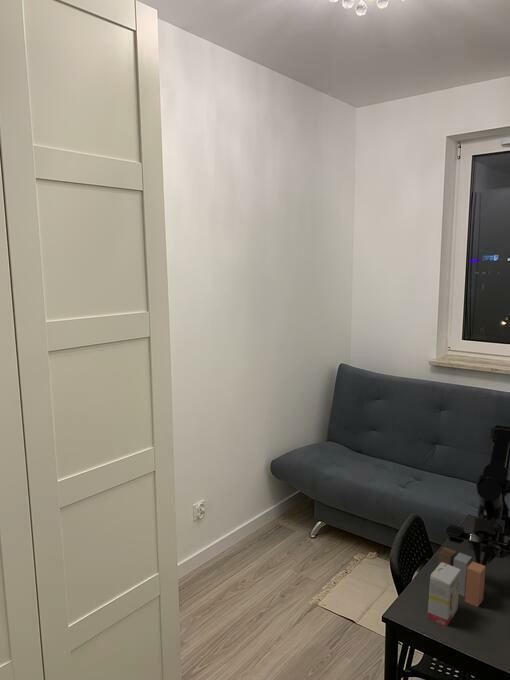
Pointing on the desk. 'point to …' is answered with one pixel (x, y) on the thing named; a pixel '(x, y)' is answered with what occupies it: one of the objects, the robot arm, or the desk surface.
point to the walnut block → (446, 556)
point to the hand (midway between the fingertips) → (479, 574)
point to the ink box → (443, 593)
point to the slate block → (462, 570)
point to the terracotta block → (475, 583)
